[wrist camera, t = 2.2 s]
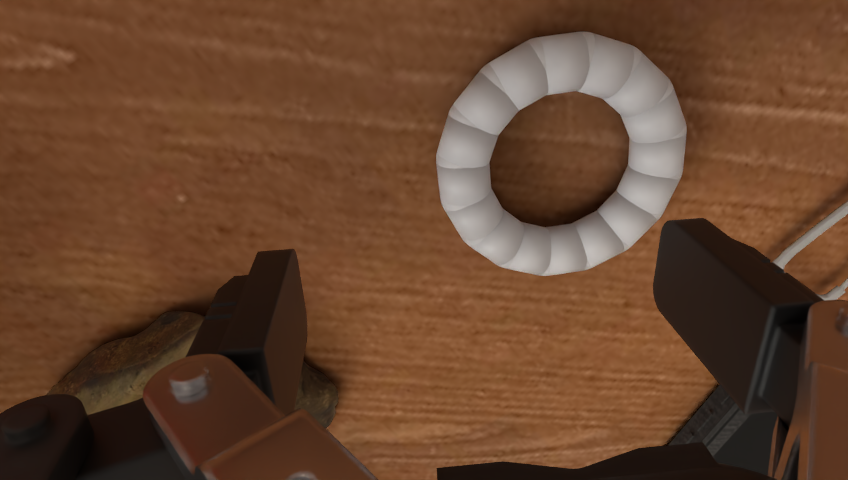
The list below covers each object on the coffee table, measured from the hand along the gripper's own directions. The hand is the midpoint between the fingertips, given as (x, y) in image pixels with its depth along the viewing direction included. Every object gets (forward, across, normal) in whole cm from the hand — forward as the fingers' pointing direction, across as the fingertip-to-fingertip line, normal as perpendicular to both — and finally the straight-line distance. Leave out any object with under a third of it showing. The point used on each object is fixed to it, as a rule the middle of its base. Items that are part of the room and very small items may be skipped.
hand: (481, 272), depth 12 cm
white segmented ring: (+6, -3, 0) cm, 7 cm away
